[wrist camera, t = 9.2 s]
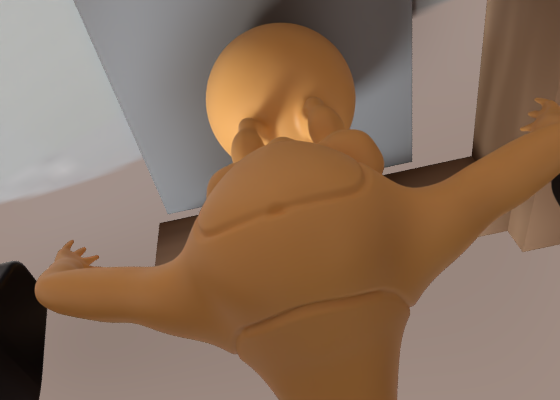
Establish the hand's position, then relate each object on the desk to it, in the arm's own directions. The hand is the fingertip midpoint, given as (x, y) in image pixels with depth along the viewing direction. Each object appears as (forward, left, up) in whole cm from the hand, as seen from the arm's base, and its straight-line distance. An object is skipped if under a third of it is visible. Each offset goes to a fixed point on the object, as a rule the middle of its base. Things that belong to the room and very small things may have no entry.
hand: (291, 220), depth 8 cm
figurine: (0, 0, -8) cm, 8 cm away
